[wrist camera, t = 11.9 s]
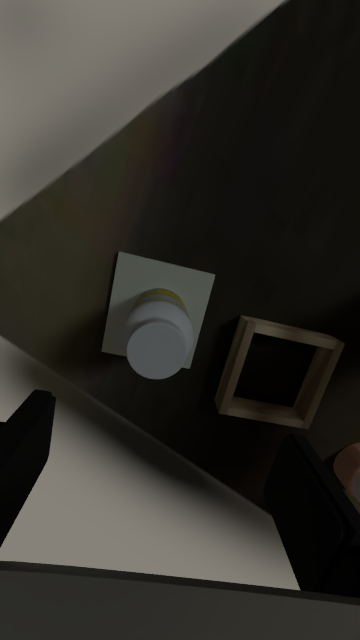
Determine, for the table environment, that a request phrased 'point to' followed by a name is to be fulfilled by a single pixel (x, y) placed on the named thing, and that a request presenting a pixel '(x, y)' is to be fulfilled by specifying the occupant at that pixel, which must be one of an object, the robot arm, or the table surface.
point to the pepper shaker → (349, 469)
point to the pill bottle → (157, 334)
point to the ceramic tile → (151, 274)
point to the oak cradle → (309, 390)
